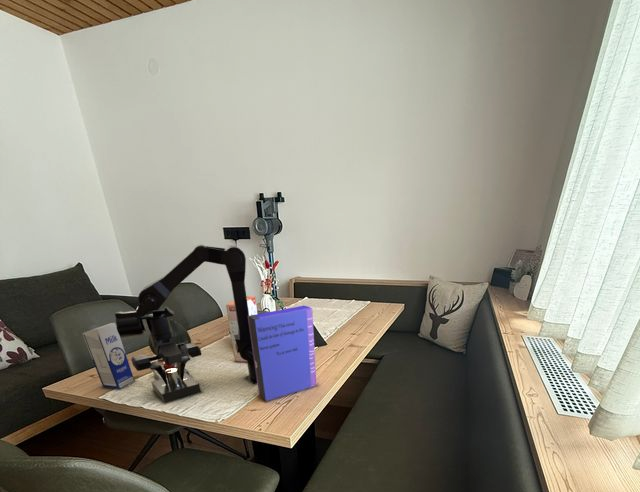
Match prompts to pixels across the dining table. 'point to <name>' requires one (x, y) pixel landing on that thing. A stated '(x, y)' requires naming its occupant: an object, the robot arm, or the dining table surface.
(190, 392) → the panel
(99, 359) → the milk carton
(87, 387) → the dining table surface
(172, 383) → the knob
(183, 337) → the squash
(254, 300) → the cracker box
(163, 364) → the disc
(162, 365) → the block
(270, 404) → the dining table surface
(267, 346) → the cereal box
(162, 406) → the dining table surface
